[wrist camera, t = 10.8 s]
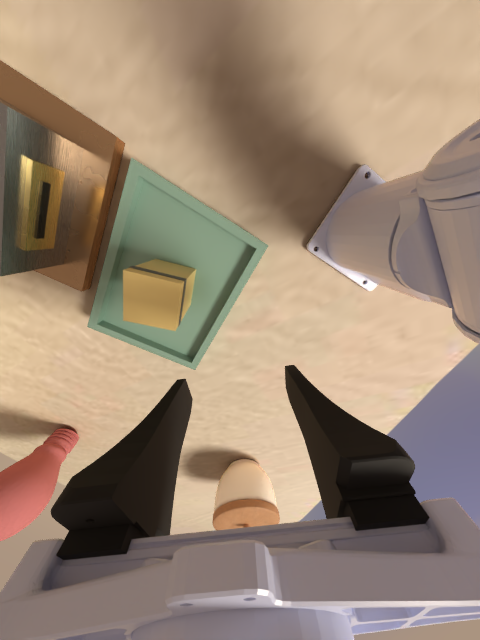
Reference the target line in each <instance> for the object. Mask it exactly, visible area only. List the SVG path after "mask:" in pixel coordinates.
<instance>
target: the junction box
mask: <svg viewBox="0 0 480 640" xmlns="http://www.w3.org/2000/svg"><path fill="white" fill-rule="evenodd" d="M124 146H125V143H124V142H122V141H121V140H120V139H119V138H118V137H116V136H115V135H113V134H112V133H110V132H109V131H107V130H105V129H104V128H102V127H101V126H99V125H98V124H96V123H95V122H93V121H92V120H90V119H89V118H87V117H86V116H84V115H83V114H81V113H80V112H78V111H77V110H75V109H74V108H72V107H70V106H69V105H67V104H66V103H64V102H63V101H61V100H60V99H58V98H57V97H55V96H54V95H52V94H51V93H49V92H48V91H46V90H45V89H43V88H42V87H40V86H38V85H37V84H35V83H34V82H32V81H31V80H29V79H28V78H26V77H25V76H23V75H22V74H20V73H19V72H17V71H16V70H14V69H13V68H11V67H10V66H8V65H6V64H5V63H3V62H2V61H0V276H5V275H10V274H15V273H21V272H26V271H31V270H34V271H36V272H39V273H41V274H43V275H46V276H48V277H50V278H52V279H55V280H57V281H59V282H61V283H64V284H66V285H68V286H70V287H73V288H75V289H77V290H80V291H84V290H87V289H89V288H90V286H91V282H92V278H93V273H94V269H95V265H96V261H97V257H98V253H99V249H100V245H101V241H102V236H103V232H104V228H105V224H106V220H107V216H108V212H109V208H110V204H111V199H112V195H113V191H114V187H115V183H116V179H117V175H118V171H119V167H120V162H121V158H122V154H123V150H124Z"/></svg>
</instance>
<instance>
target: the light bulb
mask: <svg viewBox="0 0 480 640" xmlns="http://www.w3.org/2000/svg"><path fill="white" fill-rule="evenodd" d="M78 439H79V437H78V435H77V434H76V433H75V432H74V431H72V430H69V429H64V428H62V429H57V430H56V431H54V433H53V434H52V435H51V436H49V437H48V438H47V440H45V442H44V443H43V445H41V446H39V447H37V448H36V449H35V450H34V451H33V453H32V454H30V455H29V456H27V457H25V458H24V459H22V460H20V461H18V462H16V463H15V464H13V465H11V466H10V467H8V468H7V469H5V470H3V471H2V472H0V541H2V540H5V539H7V538H9V537H11V536H13V535H14V534H16V533H18V532H19V531H21V530H22V529H24V528H25V527H26V526H28V525H29V524H30V523H31V522H32V521H33V520H34V519H36V518H37V516H38V515H39V514H40V513H41V512H42V511H43V510H44V508H45V507H46V505H47V504H48V502H49V501H50V499H51V497H52V494H53V492H54V489H55V486H56V482H57V479H58V474H59V469H60V466H61V463H62V462H63V461H64V460H65V458H66V455H67V454H68V453H70V452H71V450H72V449H73V447H74V446H75V445H76V443H77V441H78Z"/></svg>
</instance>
